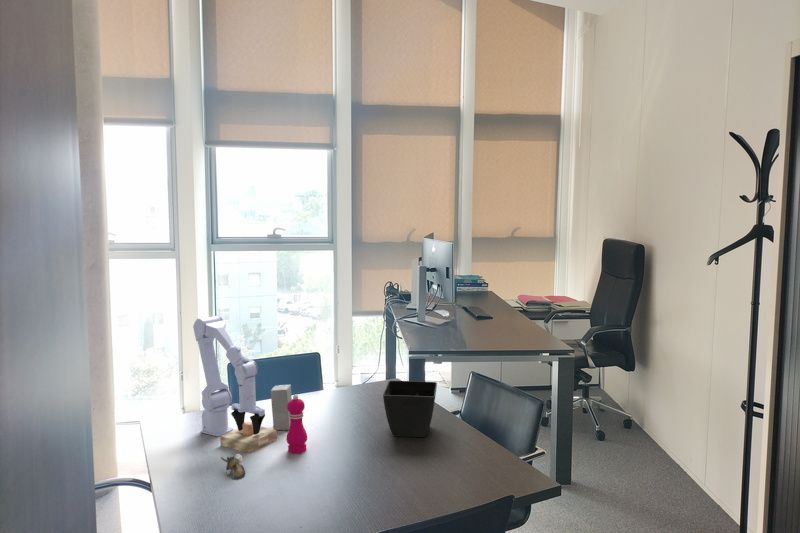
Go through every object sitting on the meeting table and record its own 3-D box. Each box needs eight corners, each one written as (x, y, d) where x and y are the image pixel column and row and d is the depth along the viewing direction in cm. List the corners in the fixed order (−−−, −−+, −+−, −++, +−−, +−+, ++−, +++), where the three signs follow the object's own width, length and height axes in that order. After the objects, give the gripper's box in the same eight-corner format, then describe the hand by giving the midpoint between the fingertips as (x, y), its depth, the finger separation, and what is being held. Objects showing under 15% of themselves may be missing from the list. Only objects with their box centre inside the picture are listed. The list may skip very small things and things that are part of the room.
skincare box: (289, 430, 228) (288, 390, 227) (271, 430, 229) (269, 390, 227) (294, 422, 237) (292, 383, 235) (276, 422, 237) (274, 383, 235)
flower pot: (437, 422, 235) (437, 380, 233) (435, 441, 216) (435, 396, 214) (389, 421, 237) (388, 380, 235) (383, 440, 218) (382, 395, 216)
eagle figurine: (214, 469, 193) (221, 474, 185) (225, 447, 195) (232, 452, 187) (235, 477, 196) (243, 483, 188) (245, 456, 198) (253, 461, 190)
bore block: (220, 445, 215) (220, 436, 214) (249, 432, 227) (248, 423, 226) (249, 453, 208) (248, 443, 207) (277, 439, 220) (276, 430, 219)
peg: (241, 440, 217) (240, 424, 216) (249, 437, 219) (248, 421, 219) (247, 442, 214) (246, 426, 214) (255, 439, 217) (254, 423, 217)
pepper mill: (303, 455, 205) (301, 398, 203) (283, 453, 207) (281, 397, 205) (310, 447, 212) (309, 392, 210) (291, 445, 214) (289, 391, 212)
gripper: (224, 395, 216) (226, 431, 217) (254, 401, 208) (255, 439, 210) (239, 390, 222) (240, 425, 223) (268, 395, 214) (269, 432, 216)
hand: (248, 431), depth 217 cm, fingers open, 7 cm apart
